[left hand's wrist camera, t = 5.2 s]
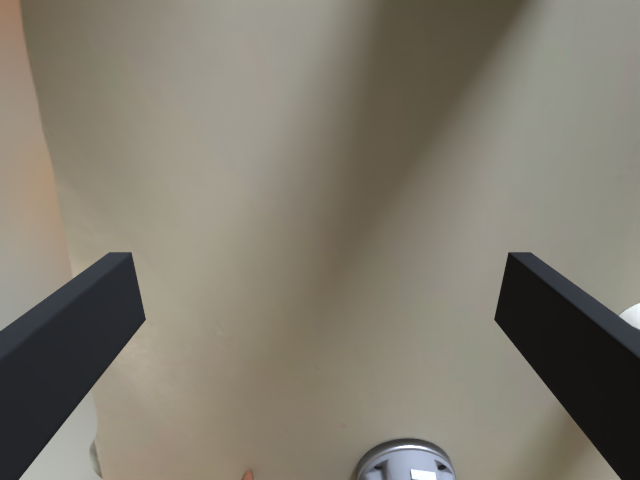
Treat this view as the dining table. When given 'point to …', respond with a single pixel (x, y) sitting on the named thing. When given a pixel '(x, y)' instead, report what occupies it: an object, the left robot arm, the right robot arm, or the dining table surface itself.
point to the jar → (632, 316)
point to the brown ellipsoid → (248, 476)
